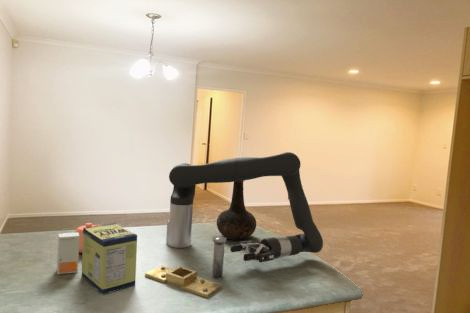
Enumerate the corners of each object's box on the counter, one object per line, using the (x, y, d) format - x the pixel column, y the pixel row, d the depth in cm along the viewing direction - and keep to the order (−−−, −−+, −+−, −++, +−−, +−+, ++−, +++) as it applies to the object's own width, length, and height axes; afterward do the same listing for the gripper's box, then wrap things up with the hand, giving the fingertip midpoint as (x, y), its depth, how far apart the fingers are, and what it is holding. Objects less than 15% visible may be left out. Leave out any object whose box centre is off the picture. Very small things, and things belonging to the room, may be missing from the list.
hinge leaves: (145, 276, 112) (145, 267, 112) (161, 268, 119) (162, 259, 118) (207, 298, 100) (207, 287, 100) (221, 287, 107) (222, 278, 107)
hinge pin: (207, 277, 114) (210, 238, 113) (215, 272, 118) (217, 235, 117) (219, 280, 112) (221, 241, 111) (226, 276, 116) (228, 237, 115)
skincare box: (56, 275, 108) (58, 237, 108) (56, 269, 112) (57, 233, 111) (78, 272, 111) (79, 235, 110) (77, 267, 115) (78, 231, 114)
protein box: (112, 268, 116) (114, 222, 115) (136, 285, 105) (138, 234, 104) (80, 276, 109) (82, 227, 108) (102, 295, 98) (104, 241, 97)
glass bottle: (258, 234, 165) (262, 175, 163) (251, 246, 148) (256, 180, 146) (221, 229, 169) (225, 172, 167) (210, 240, 152) (214, 176, 150)
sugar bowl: (62, 252, 128) (62, 224, 127) (91, 241, 141) (92, 216, 140) (88, 258, 123) (89, 230, 122) (115, 247, 136) (116, 221, 135)
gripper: (264, 232, 132) (227, 236, 124) (289, 243, 120) (249, 249, 112) (263, 251, 133) (226, 256, 125) (287, 265, 121) (248, 272, 113)
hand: (237, 253), depth 118 cm, fingers open, 8 cm apart
